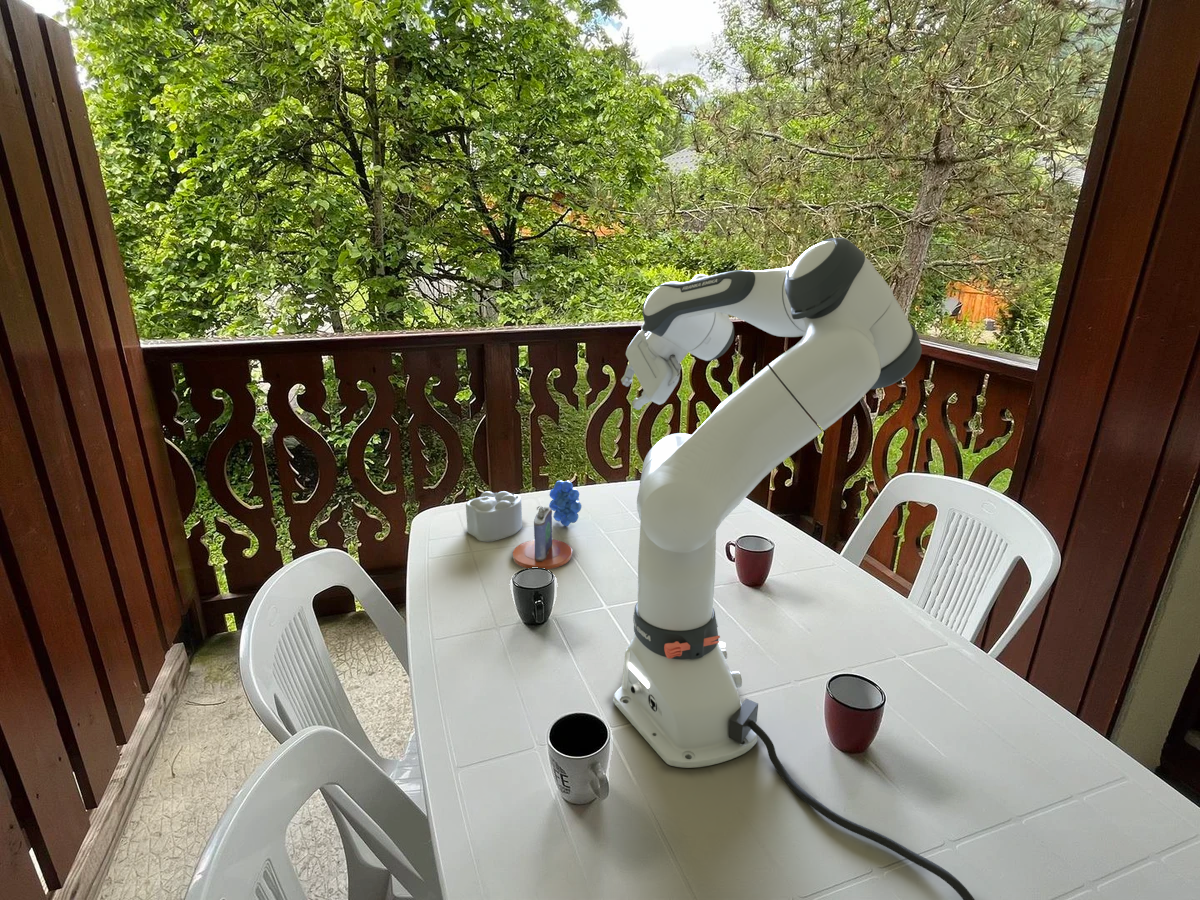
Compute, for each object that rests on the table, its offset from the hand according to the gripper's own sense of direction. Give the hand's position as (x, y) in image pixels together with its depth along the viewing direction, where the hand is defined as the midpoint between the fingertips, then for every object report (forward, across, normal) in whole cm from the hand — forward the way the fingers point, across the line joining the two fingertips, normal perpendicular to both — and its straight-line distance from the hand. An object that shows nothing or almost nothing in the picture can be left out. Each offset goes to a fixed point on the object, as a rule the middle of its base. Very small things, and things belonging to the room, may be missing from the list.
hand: (629, 395), depth 138 cm
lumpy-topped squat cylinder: (+46, 0, +7) cm, 47 cm away
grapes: (+37, -1, -8) cm, 38 cm away
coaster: (+37, -15, +2) cm, 40 cm away
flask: (+36, -15, +2) cm, 39 cm away
